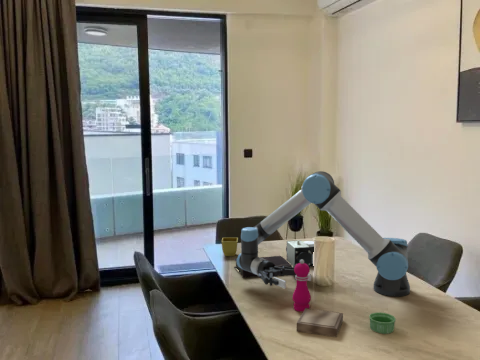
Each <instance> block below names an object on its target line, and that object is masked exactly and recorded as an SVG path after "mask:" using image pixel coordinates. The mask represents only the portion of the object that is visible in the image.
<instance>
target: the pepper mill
mask: <svg viewBox="0 0 480 360" xmlns="http://www.w3.org/2000/svg"><path fill="white" fill-rule="evenodd" d="M310 269H311V268H309V266H308V265H307V264H305V263H304V260H303V259H301V260H300V263H298V264H296V265H295V268H294V272H295V274H296V275H295V276H296V277H295V276H294V277H295V280H296V284H295V288H294V290H293V293H292V299H291V300H292V301H293V302H294V303H293V310H294V311H295V312H296V311H297V312H301V313H303V312H304V310H305V308H309V309H311V308H310V307H311V305H310V302H311V301H312V296H311V292H310V290H309V288H308V274H310Z"/></svg>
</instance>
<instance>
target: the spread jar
mask: <svg viewBox="0 0 480 360" xmlns="http://www.w3.org/2000/svg"><path fill="white" fill-rule="evenodd" d="M303 242H304V243H307V244H309V247H310V253H312V264H310V268H311V267H314V266H313V252H314V242H315V241H312V240H305V241H303Z"/></svg>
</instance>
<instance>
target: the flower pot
mask: <svg viewBox="0 0 480 360" xmlns="http://www.w3.org/2000/svg"><path fill="white" fill-rule="evenodd" d="M238 240H239V237H222V239H221V248H222V253H223V256H225V257H235V256H236V254H237V251H238V250H237V249H238V242H239V241H238Z"/></svg>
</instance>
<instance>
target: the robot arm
mask: <svg viewBox="0 0 480 360" xmlns="http://www.w3.org/2000/svg"><path fill="white" fill-rule="evenodd" d="M311 204H314V205H315V206H316V207H317V208H318V209H319V210H320V211H325V212H327V213H328V214H329V215H330V216H331V217H332V219H334V221H335V222H337V223H338V225H340V226H341V228H343V229H344V231H346V232H347V234H348V235H350V237H352V239H353V240H355V242H356V243H357V244H359V246H361V248H362V249H363V250H364V251H365V252H366V253H367V259H368V260H369V261H370V262H371V263H372V265H374V266H375V268H376V270H377V274H376V275H375V279H374V282H373V288H372V289H373V290H374V291H375V292H376V293H378V294H380V295H383V296H389V297H403V296H408V295H410V293H411V286H410V283H409V280H408V275H407V271H408V270H409V269H408V268H409V261H408V260H409V259H408V247H409V245H408V241H407V239H403V238H399V237H397V238H396V237H383V236H381V235H380V234H379V233H378V231H377V230H375V228H374V227H372V225H370V223H369V222H368V221H366V219H364V218H363V217H362V216H361V214H360V213H359V212H358V211H357V210H355V208H353V207H352V205H350V203H348V201H347V200H346V199H345V198H344V197H343V196H342V190H341V189H340V188H339V187H338V186H337V185H336V184H335V180H334V178H333V176H332V175H331V174H330V173H328V172H326V171H324V170H323V171H322V170H320V171H316V172H314V173H312V174H310V175H308V176H307V177H306V178H305V180H303V182H302V184H301V189H300V190H299V191H297V192H296V193H295V194H293V196H291V197H289V198H288V199H287V200H286V201H285V202H283V204H280V206H279V207H277V208H276V209H275V210H274V211H272V212H271V213H270V214H268V216H266V217H265V218H263V220H261V221H260V222H259V223H257V224H256V225H255V226H253V227H252V226H247V227H242V228H241V233H240V253H239V254H238V256H237V265H238V266H239V267H240V268H241V269H243V270H245V271H248V272H251V273H253V274H256V275H258V276H257V277H258V278H260V279H261V280H262V282H263V283H264V285H269V286H270V287H271V286H272V287H273V285H275V286H277V287H280V288H282V289H286V288H287V281H286V280H284V279H281V278H279V277H284V276H291V277H292V276H294V277H295V275H296V274H295V272H294V268H295V267H293V266H292V267H288V266H284V265H282V266H281V267H278V266H275V264H274V263H273V262H271V261H268V260H266V259H263V258H260V257H261V256H259V244H261V243H262V242H264V241H265V240H266V239H267V238H269V236H271V235H272V234H274V232H276V231H277V230H279V229H280V228H281V227H282V226H283V225H285V224H286V223H288V222H289V221H290V220H291V219H293V218H294V217H295V216H296V215H298V214H299V213H301V212H302V211H303V210H304V209H306V208H307V207H308V206H309V205H311ZM281 271H282V274H281ZM311 281H312V275H311V273H309V274H308V280H307V282H311Z"/></svg>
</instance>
